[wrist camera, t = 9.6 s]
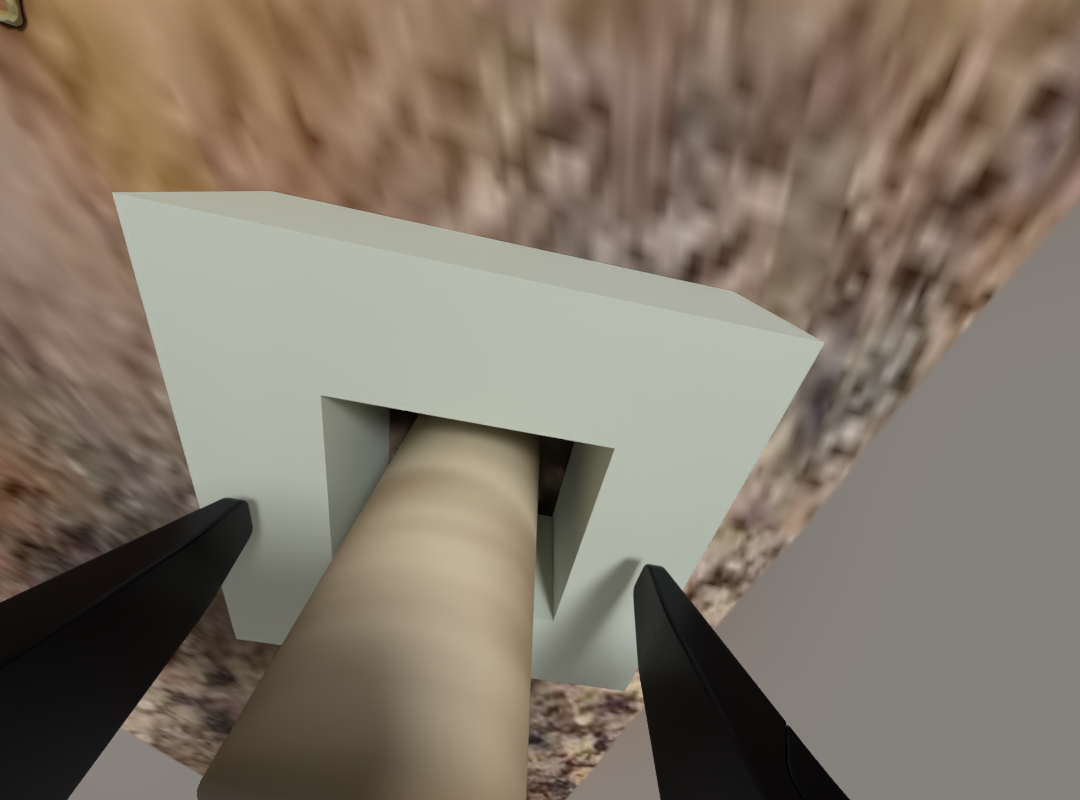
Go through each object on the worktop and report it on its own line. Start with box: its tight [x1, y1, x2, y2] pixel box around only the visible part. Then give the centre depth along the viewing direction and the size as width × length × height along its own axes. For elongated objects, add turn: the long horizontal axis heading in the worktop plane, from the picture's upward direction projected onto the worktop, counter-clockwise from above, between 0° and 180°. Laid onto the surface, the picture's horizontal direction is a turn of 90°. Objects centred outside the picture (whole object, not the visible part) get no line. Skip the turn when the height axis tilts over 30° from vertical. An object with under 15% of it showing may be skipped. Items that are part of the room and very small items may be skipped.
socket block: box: [112, 191, 824, 691], centre depth 11 cm, size 12×12×4 cm
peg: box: [197, 413, 540, 800], centre depth 9 cm, size 4×4×9 cm
